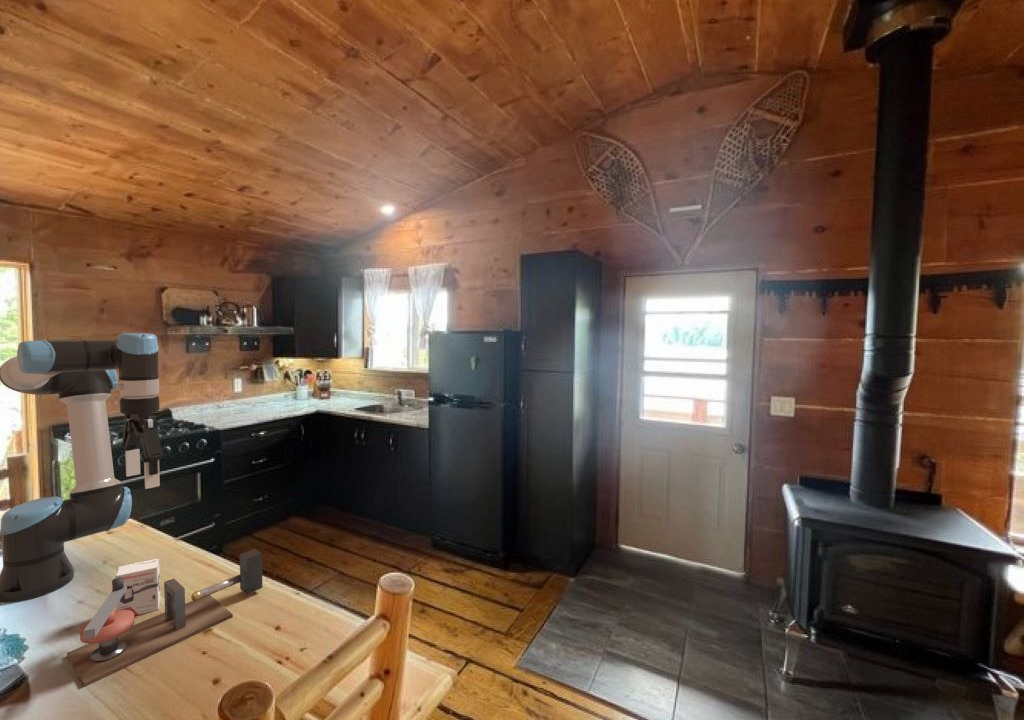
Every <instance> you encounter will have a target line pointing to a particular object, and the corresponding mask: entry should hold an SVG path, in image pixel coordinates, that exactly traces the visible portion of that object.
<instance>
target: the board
mask: <svg viewBox="0 0 1024 720" xmlns="http://www.w3.org/2000/svg"><path fill="white" fill-rule="evenodd" d="M233 616H234V614H233V612H231V611H230V610H228V609H227V608H226V607H225V606H224V605H222V604H221V603H220V602H219V601H218V600H217V599H215V598H214V597H213V596H212V594H211V595H208V596H206V597H204V598H200V599H199V600H198V601H193V600H191V601H189V602H185V620H186V627H184V628H182V629H180V630H178V631H175V630H174V629H173V620H172V621H170V622H167V621H166V620H165V611H164V612H161V613H160V614H158V615H154V616H152V617H150V618H148V619H147V618H146V619H145V620H142V621H140V622H137V623H134V624H133V626H132V627H131V628H130V629H129V630H128V631H126V632H125V633H123V634H121V635H120V636H118V641H125V642H126V644H127V647H126V650H125V651H124V652H123V653H122V654H120V655H119V656H117V657H115V658H113V659H111V660H108V661H104V662H98V663H97V662H92V661H91V659H90V656H91V653H92V652H93V651H94V650H95V649H97V648H98V647H99V643H93V644H87V643H86V644H84V645H83V646H80V647H78V648H75V649H73V650H70V651H68V652H66V657H67V659H68V661H69V662H70V663H71V666H72V668H73V669H74V671H75V673H76V675H77V676H78V678H79V680H80V682H81V683H82V685H83V687H86V686H89V685H91V684H94V683H95V682H97V681H100V680H102V679H104V678H106V677H108V676H110V675H113V674H115V673H116V672H118V671H121V670H123V669H125V668H127V667H129V666H131V665H134V664H136V663H138V662H140V661H142V660H144V659H146V658H148V657H151V656H153V655H155V654H157V653H159V652H161V651H163V650H166V649H167V648H170V647H172V646H174V645H176V644H178V643H180V642H182V641H185V640H187V639H189V638H190V637H191V638H192V637H193V636H196V635H197V634H200V633H201V631H202V632H204V631H206V630H208V629H210V628H212V627H214V626H217V625H219V624H221V623H223V622H225V621H227V620H229V619H231V618H233ZM114 672H115V673H114Z"/></svg>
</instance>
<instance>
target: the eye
mask: <svg viewBox="0 0 1024 720" xmlns="http://www.w3.org/2000/svg"><path fill="white" fill-rule="evenodd" d="M163 591H164V595H163V596H164V612H165V620H166V621H167V622H170V621H172V620H173V629H174V630H175V631H178V630H180V629H182V628H184V627H186V620H185V604H186V589H185V587H184V586H183V585H182V584H181V583H179V582H178V581H177V580H176V579H175V578H171V579H167V580H166V581H164V582H163Z"/></svg>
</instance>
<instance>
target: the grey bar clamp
mask: <svg viewBox="0 0 1024 720" xmlns="http://www.w3.org/2000/svg"><path fill="white" fill-rule="evenodd" d="M237 584H240V585H239V587H240V588H239V589H240V591H242V592H243V593H245V594H246V595H250V594H252V593H254V592H256V591H259V590H261V589H263V553H262V552H261V551H260V550H257V549H256V548H253V549H250V550H248V551H245V552H243V553H240V554H239V574H238V575H233V576H232V577H230V578H227V579H225V580H222V581H220V582H216V583H214V584H212V585H209V586H207V587H205V588H202V589H200V590H198V591H197V590H196V591H194V592H192V594H191V596H190V598H191V601H198V600H199V599H200V598H204V597H206V596H208V595H211V596H212V595H213V594H216V593H218V592H220V591H223V590H225V589H228V588H231V587H232V586H234V585H237Z"/></svg>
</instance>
